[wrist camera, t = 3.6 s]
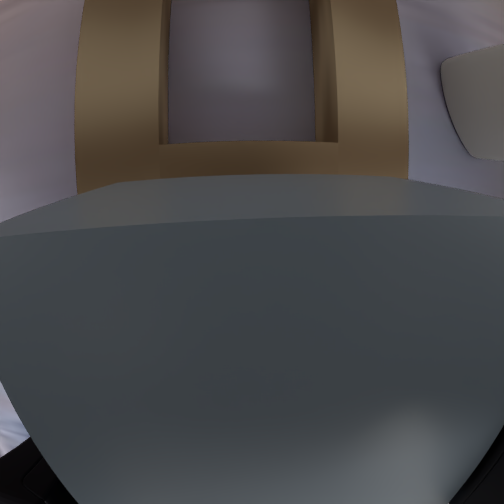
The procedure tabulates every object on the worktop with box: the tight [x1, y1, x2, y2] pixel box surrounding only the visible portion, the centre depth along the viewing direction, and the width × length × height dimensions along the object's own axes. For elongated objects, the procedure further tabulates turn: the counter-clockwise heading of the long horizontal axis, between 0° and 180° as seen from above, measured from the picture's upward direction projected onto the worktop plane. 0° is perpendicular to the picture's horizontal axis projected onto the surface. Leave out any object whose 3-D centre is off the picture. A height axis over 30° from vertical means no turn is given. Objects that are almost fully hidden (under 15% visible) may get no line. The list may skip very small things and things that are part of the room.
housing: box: [0, 174, 504, 504], centre depth 6 cm, size 10×7×6 cm
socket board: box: [75, 0, 409, 195], centre depth 11 cm, size 20×12×2 cm, turn 1°
